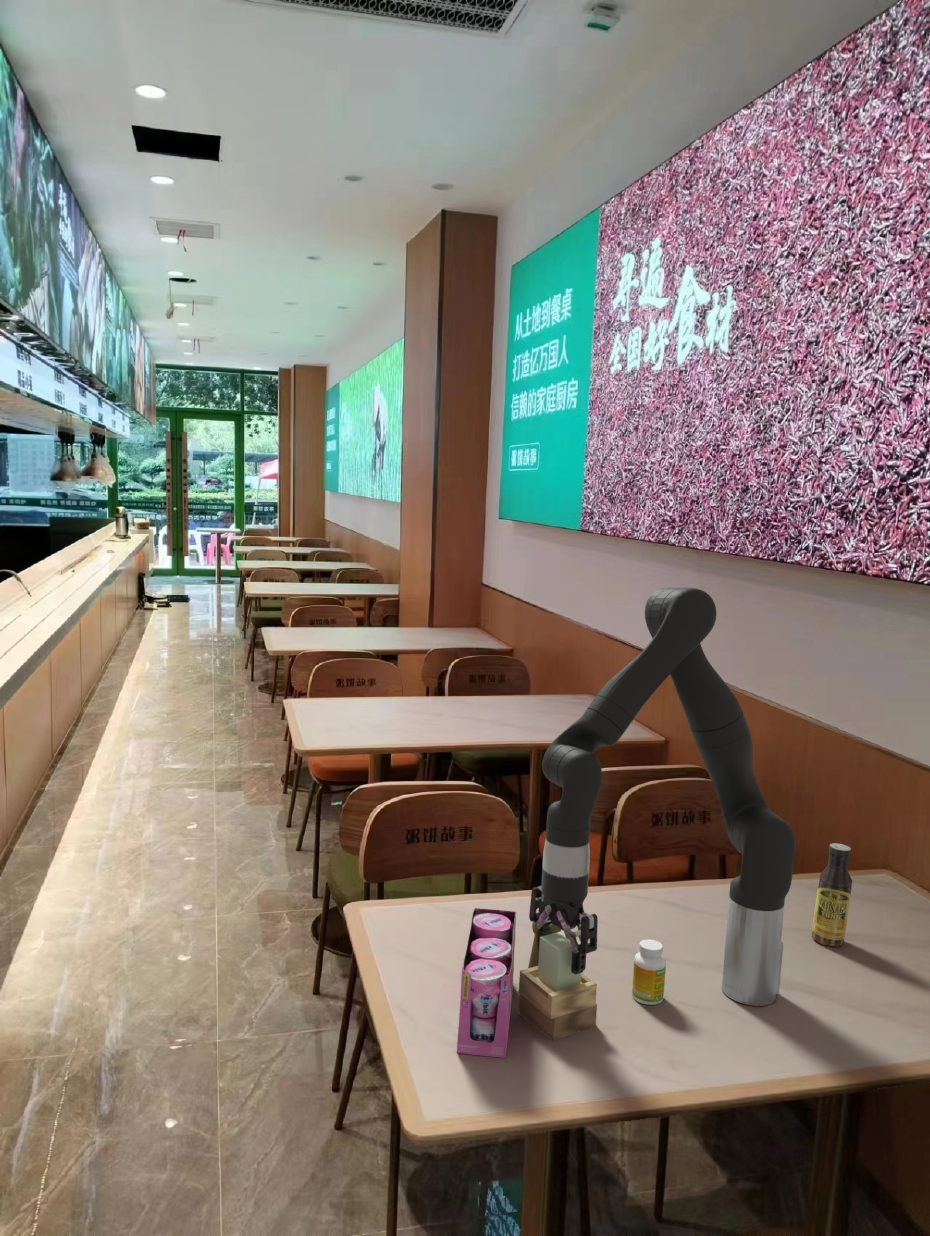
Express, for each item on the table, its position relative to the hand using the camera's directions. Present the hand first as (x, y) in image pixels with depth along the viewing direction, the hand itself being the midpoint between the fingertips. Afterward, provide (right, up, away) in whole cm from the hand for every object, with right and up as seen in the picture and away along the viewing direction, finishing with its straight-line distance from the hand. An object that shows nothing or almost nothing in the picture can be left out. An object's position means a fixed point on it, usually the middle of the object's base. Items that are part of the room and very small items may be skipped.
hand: (560, 961), depth 150 cm
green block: (0, -3, 0) cm, 3 cm away
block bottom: (-1, -10, +1) cm, 10 cm away
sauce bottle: (+57, -9, +33) cm, 67 cm away
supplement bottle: (+16, -10, +9) cm, 21 cm away
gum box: (-12, -10, +1) cm, 15 cm away
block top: (-1, -6, 0) cm, 6 cm away
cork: (-1, -8, +15) cm, 17 cm away
